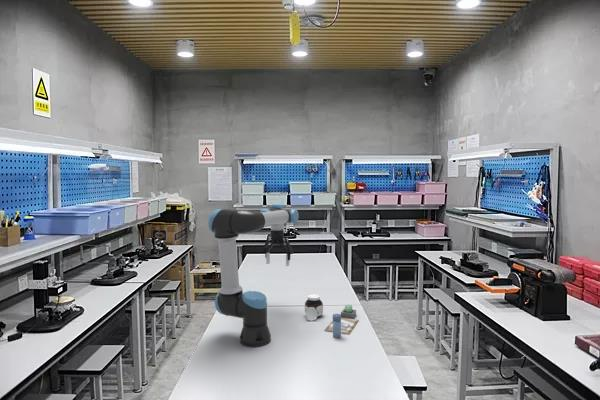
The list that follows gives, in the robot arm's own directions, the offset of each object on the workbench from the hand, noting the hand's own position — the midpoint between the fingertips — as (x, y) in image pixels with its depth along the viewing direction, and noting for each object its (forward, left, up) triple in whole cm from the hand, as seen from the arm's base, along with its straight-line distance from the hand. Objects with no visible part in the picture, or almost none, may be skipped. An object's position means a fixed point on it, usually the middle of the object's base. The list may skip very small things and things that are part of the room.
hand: (277, 264), depth 244 cm
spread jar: (-8, -26, -27) cm, 38 cm away
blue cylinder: (-28, -46, -27) cm, 60 cm away
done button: (+1, -44, -25) cm, 50 cm away
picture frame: (-14, -44, -27) cm, 53 cm away
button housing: (+1, -44, -27) cm, 51 cm away
